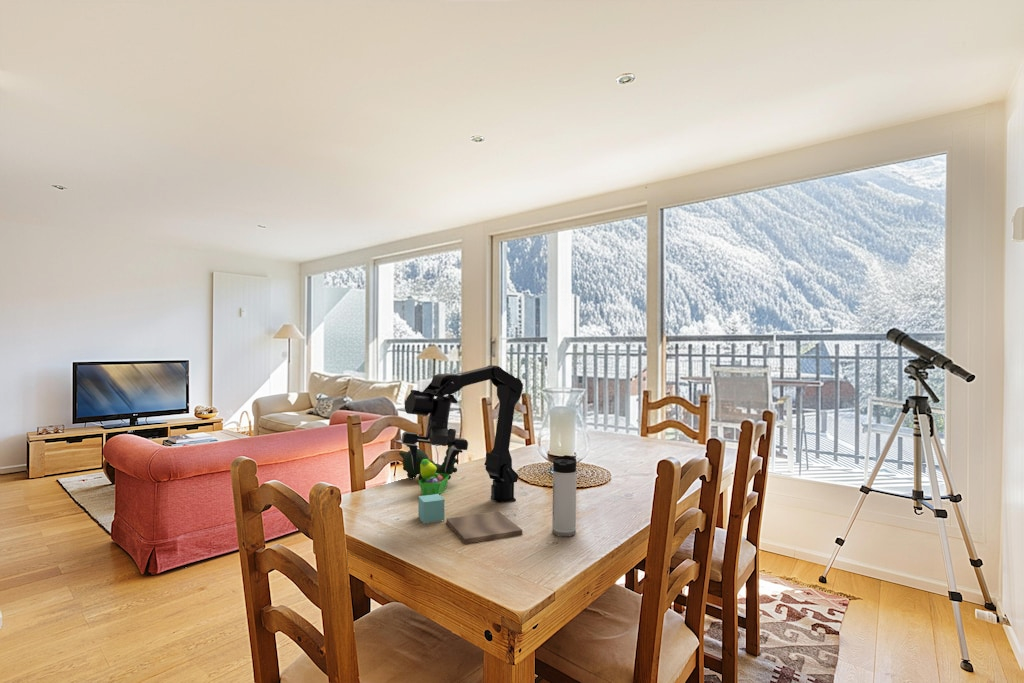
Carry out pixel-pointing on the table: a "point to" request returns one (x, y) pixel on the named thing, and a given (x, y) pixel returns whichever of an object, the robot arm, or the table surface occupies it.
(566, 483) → the travel mug
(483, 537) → the walnut board
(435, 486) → the fruit basket
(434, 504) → the teal cube
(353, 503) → the table surface
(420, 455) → the toy figurine
